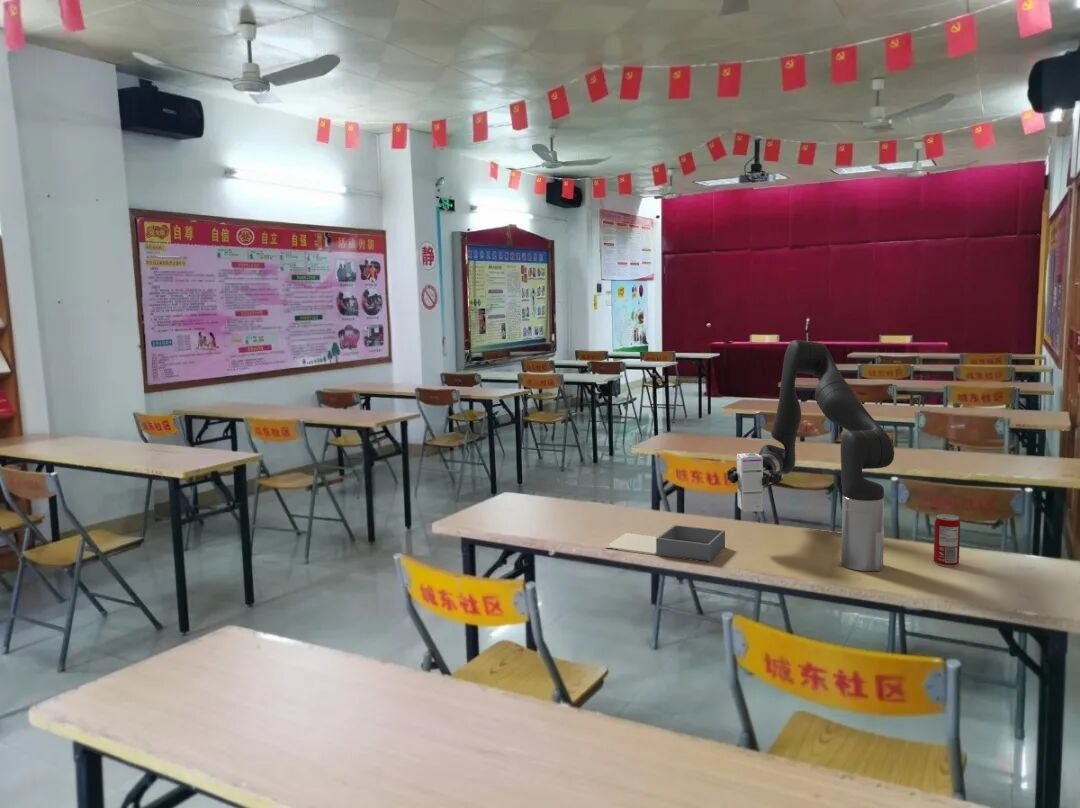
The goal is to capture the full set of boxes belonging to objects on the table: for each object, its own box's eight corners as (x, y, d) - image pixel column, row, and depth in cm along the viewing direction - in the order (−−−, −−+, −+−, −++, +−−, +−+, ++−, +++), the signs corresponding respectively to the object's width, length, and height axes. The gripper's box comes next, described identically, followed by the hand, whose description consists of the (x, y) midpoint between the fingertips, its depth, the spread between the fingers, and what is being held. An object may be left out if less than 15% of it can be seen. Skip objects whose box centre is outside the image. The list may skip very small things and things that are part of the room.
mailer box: (724, 547, 209) (725, 530, 208) (709, 562, 197) (709, 544, 196) (625, 534, 223) (625, 519, 222) (605, 548, 211) (605, 531, 210)
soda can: (946, 559, 195) (947, 511, 194) (964, 565, 190) (966, 517, 188) (928, 561, 193) (929, 514, 192) (945, 568, 188) (947, 519, 187)
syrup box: (764, 511, 203) (764, 456, 202) (741, 512, 204) (741, 456, 202) (758, 506, 209) (758, 452, 208) (736, 506, 209) (736, 453, 208)
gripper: (737, 454, 221) (720, 464, 207) (789, 457, 214) (776, 468, 200) (737, 480, 222) (720, 492, 208) (789, 484, 215) (776, 497, 201)
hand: (748, 480), depth 204 cm, fingers closed on syrup box, 7 cm apart
